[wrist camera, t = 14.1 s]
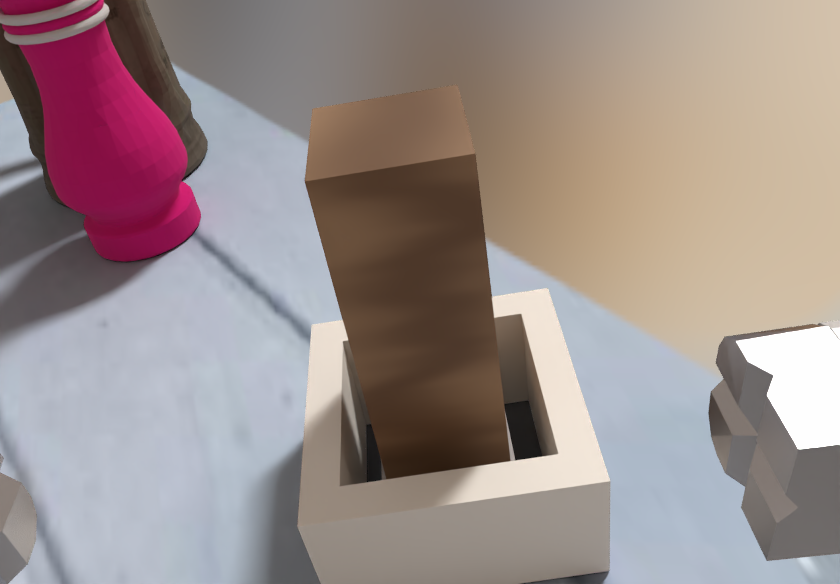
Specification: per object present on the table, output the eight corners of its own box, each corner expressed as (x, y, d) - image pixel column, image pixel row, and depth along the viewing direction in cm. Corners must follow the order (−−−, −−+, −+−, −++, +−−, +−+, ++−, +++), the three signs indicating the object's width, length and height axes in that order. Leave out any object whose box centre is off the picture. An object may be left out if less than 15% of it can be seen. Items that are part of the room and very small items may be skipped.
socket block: (331, 610, 25) (297, 527, 22) (337, 407, 32) (311, 324, 29) (609, 570, 24) (610, 481, 22) (552, 374, 31) (547, 287, 29)
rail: (397, 538, 26) (298, 185, 18) (392, 442, 30) (307, 107, 21) (522, 520, 26) (482, 155, 18) (503, 426, 30) (462, 81, 21)
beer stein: (238, 165, 50) (113, -193, 39) (77, 235, 46) (-116, -143, 35) (163, 114, 61) (49, -174, 50) (27, 167, 57) (-130, -135, 46)
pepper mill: (159, 275, 41) (-28, -144, 29) (60, 260, 44) (-149, -129, 32) (233, 203, 46) (100, -181, 34) (140, 193, 49) (-15, -165, 37)
